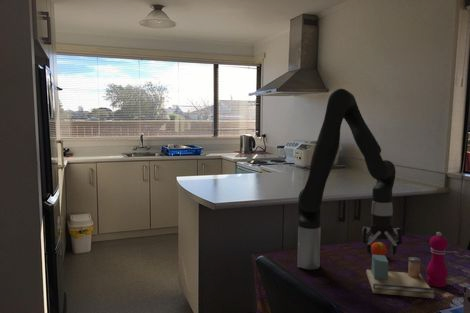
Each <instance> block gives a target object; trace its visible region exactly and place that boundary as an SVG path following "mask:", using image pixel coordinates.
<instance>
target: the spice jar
mask: <svg viewBox="0 0 470 313" xmlns="http://www.w3.org/2000/svg"><path fill="white" fill-rule="evenodd" d="M407 259H408V260H407V261H408V269H407V273H408V276H409V277H412V278H419V277H420V274H421V273H420V271H421V259H420V258H419V257H416V256H409V257H408V258H407Z"/></svg>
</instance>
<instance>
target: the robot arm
mask: <svg viewBox="0 0 470 313" xmlns="http://www.w3.org/2000/svg"><path fill="white" fill-rule="evenodd" d="M326 103H327V104H326V108H325V113H324V114H325V115H324V118H323V122H322V124H321V127H320V130H319V134H318V137H317V140H316V143H315V146H314V149H313V152H312V154H311V155H312V156H311V161H310V165H309V172H308V177H307V181H306V182H305V186H304V187H303V189H301V191H300V192H299V195H298V206H297V207H298V209H297V210H298V212H297V216H298V217H297V225H298V226H297V228H298V229H297V258H296V259H297V260H296V261H297V263H296V264H297V265H296V267H297V268H301V269H304V270H317V269H319V268H320V265H321V264H320V263H321V261H320V256H321V222H322V221H321V205H322V203H323V196H324V192H325V187H326V183H327V181H328V179H329V176H330V173H331V171H332V169H333V166H334V164H335V162H336V158H337V155H338V152H339V148H340V141H341V128H342V124H343V120H344V121H346V123H347V124H348V127H349V129H350V131H351V134H352V137H353V139H354V142H355V144H356V146H357V148H358V149H359V151H360V152H361V155H362V156H363V158H364V161H365V165H366V168H367V170H368V173H369V175H370V176H371V177H372V178H373V179H375V180H376V183H375V185H374V186H373V188H372V193H371V195H372V197H371V200H372V203H371V218H370V219H371V222H370V223H371V224H370V227H368V226H365V225H364V226H362V230H361V242H362V243H363V244H366V253H367V254H369V255H372V253H371V245H372V244H373V243H374V241H376V239H377V240H389V242H391V255H392V256H395V255H396V254H397V246H398V245H399V246H400V245H402V244H403V241H402V240H403V238H402V234H403V233H402V229H401V228H400V227H399V226H398V227H396V228H394V227H393V214H394V212H393V210H394V209H393V208H394V207H393V188H394V185H395V179H396V167H395V164H394V163H393V162H392V161H390V160H387V159H385V160H384V159H383V158H382V157H383V156H382V155H381V153H382V148H381V146H380V144H379V142H378V141H377V139H376V138H375V136H374V134H373V133H372V130H370V128H369V127H368V124H367V123H366V122H365V120H364V118H363V116H362V113H361V111H360V108H359V106H358V103H357V100H356V97H355V95H354V94H352V93H351V92H350V91H349V90H347V89H345V88H336V89H335V90H333V91H332V92H331V93H330V94H329V97H328V100H327V102H326ZM369 232H371V235H370V236H369V237H368V239H367V234H368V233H369ZM393 233H395V234H396V240H394V238H393V237H392V234H393Z"/></svg>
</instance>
